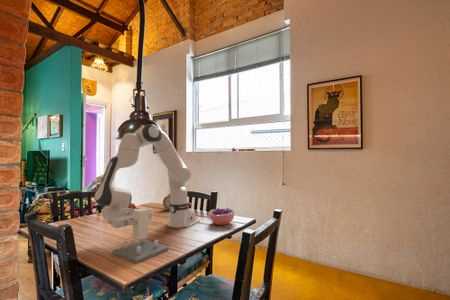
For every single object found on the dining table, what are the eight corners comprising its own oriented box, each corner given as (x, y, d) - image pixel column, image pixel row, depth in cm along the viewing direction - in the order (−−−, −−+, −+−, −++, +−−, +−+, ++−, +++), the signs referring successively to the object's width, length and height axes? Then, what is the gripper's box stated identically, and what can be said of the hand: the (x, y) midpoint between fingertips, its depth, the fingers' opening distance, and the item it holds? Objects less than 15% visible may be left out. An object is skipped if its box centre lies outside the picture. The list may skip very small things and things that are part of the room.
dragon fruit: (125, 217, 186) (132, 215, 198) (134, 210, 186) (141, 209, 198) (119, 208, 187) (126, 206, 199) (129, 201, 188) (135, 200, 200)
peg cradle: (144, 242, 132) (144, 232, 132) (168, 249, 122) (168, 239, 122) (112, 253, 117) (112, 243, 117) (136, 263, 107) (136, 251, 107)
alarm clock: (162, 211, 200) (163, 190, 200) (162, 209, 205) (162, 189, 205) (176, 210, 203) (176, 190, 203) (176, 208, 208) (176, 189, 208)
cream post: (141, 234, 123) (141, 208, 123) (148, 236, 120) (148, 209, 120) (132, 237, 119) (133, 210, 119) (139, 239, 116) (139, 211, 116)
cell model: (239, 222, 170) (239, 205, 170) (224, 230, 153) (224, 211, 153) (218, 218, 179) (218, 202, 179) (202, 225, 162) (202, 208, 162)
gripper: (105, 214, 118) (122, 219, 110) (141, 207, 135) (158, 211, 127) (104, 228, 118) (122, 234, 110) (141, 219, 135) (158, 223, 127)
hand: (141, 221), depth 119 cm, fingers closed on cream post, 5 cm apart
